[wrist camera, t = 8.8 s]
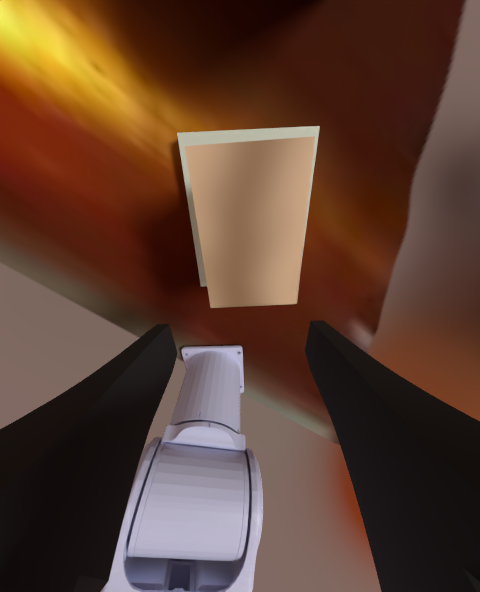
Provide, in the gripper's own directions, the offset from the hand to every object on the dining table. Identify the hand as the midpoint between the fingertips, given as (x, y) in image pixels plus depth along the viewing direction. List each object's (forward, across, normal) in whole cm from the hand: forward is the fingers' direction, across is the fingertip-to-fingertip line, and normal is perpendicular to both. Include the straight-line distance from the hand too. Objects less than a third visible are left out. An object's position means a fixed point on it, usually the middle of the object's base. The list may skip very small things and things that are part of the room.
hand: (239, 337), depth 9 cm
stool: (+10, -1, -4) cm, 10 cm away
